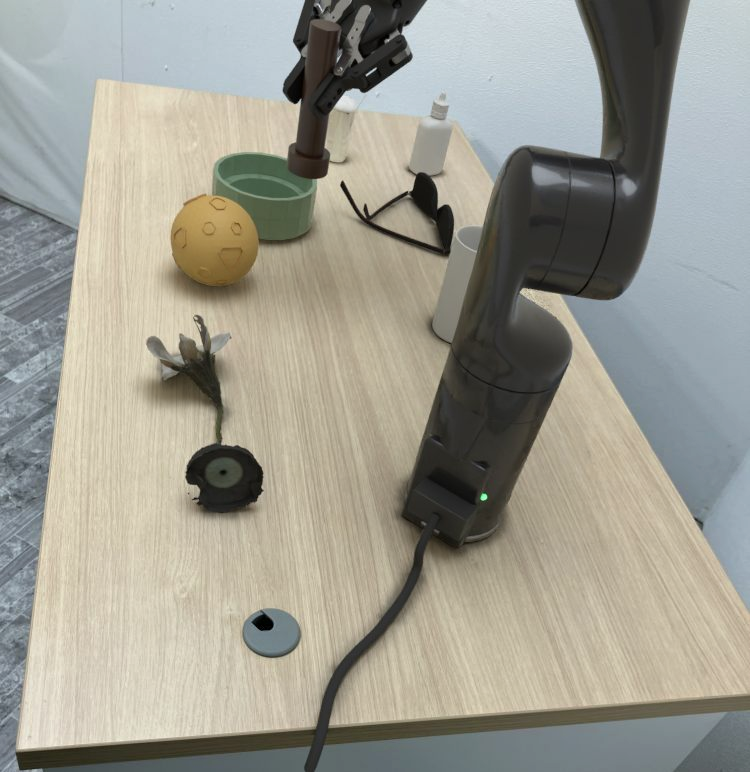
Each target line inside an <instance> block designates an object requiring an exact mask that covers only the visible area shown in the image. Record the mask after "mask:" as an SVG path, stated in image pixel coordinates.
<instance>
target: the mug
mask: <svg viewBox="0 0 750 772" xmlns="http://www.w3.org/2000/svg"><path fill="white" fill-rule="evenodd" d="M482 228H483V225H478V224H468V225H467V224H466V225H463V226H460V227H459V228H457V229H456V231H455V233H454V237H453V238H454V239H453V240H452V243H451V247H450V249H451V251H450V254H448V255H449V256H448V260H447V263H446V267H445V272H444V275H443V279H442V283H441V286H440V291H439V295H438V299H437V303H436V306H435V310H434V311H435V312H434V316H433V320H432V324H431V326H432V330H433V331H434V333H435V334H436V336H438V337H439V339H442V340H443V341H445V342H447V343H450V344H452V341H453V337H454V334H455V331H456V328H457V324H458V320H459V316H460V312H461V308H462V304H463V300H464V297H465V293H466V289H467V286H468V283H469V279H470V276H471V272H472V269H473V265H474V261H475V257H476V253H477V250H478V245H479V241H480V237H481V233H482Z"/></svg>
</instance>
